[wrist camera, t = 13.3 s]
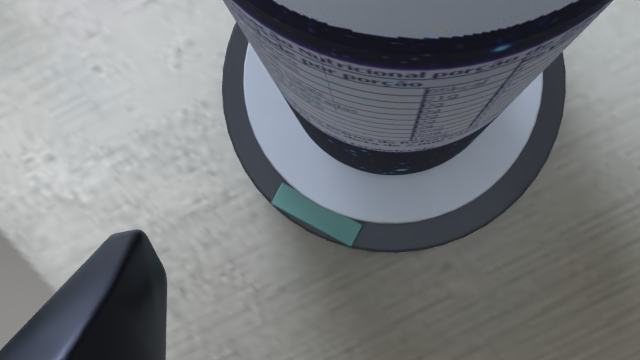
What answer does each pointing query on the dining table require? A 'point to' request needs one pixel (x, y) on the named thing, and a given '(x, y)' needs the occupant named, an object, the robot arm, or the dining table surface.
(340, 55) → the beverage can
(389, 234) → the kitchen scale
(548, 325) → the dining table surface
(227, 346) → the dining table surface
